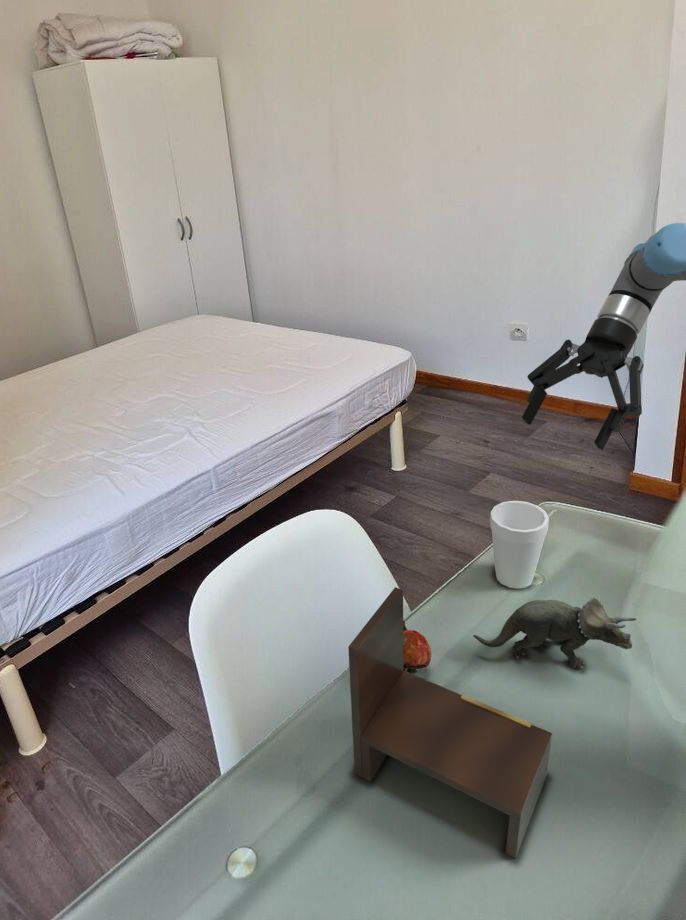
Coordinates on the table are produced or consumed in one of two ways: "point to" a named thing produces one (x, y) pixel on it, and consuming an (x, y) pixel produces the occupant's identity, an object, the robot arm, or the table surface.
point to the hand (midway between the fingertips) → (560, 433)
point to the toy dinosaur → (561, 627)
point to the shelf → (440, 728)
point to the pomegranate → (415, 650)
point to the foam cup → (517, 541)
